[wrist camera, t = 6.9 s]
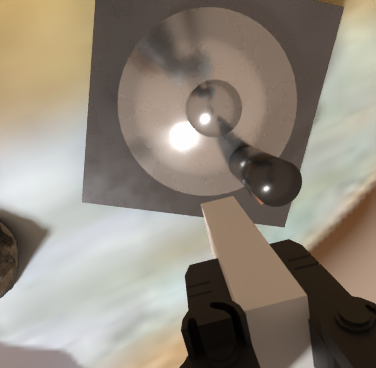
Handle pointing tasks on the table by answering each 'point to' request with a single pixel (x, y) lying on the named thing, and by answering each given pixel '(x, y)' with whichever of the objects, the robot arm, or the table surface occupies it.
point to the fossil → (7, 259)
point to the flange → (211, 106)
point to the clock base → (113, 68)
